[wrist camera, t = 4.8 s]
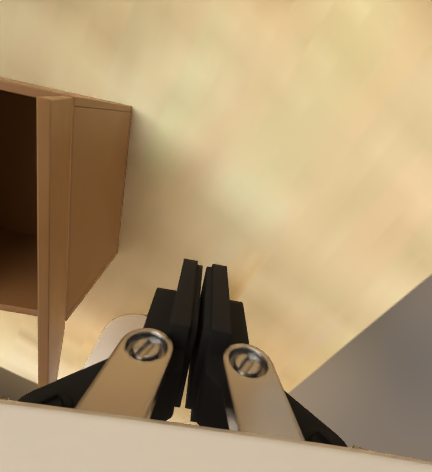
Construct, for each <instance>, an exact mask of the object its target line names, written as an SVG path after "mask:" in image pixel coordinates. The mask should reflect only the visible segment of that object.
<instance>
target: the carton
mask: <svg viewBox="0 0 432 472" xmlns="http://www.w3.org/2000/svg"><path fill="white" fill-rule="evenodd" d="M43 96H68V97H71V98H72V117H71V148H70V179H69V210H68V241H67V272H66V303H65V321H67V320H68V318H69V317H70V316H71V314H72V313H73V312H74V310H75V309H76V308H77V306H78V305H79V304H80V302H81V301H82V300H83V298H84V297H85V296H86V294H87V293H88V292H89V290H90V289H91V288H92V286H93V285H94V284H95V282H96V281H97V280H98V278H99V277H100V276H101V274H102V273H103V272H104V270H105V269H106V268H107V266H108V265H109V264H110V262H111V261H112V260H113V258H114V257H115V256H116V254H117V253H118V245H119V235H120V225H121V215H122V205H123V195H124V185H125V175H126V165H127V154H128V144H129V134H130V124H131V114H132V106H128V105H123V104H119V103H114V102H110V101H105V100H101V99H96V98H92V97H87V96H83V95H78V94H74V93H69V92H65V91H60V90H56V89H51V88H47V87H42V86H38V85H33V84H29V83H25V82H20V81H16V80H11V79H7V78H2V77H0V310H4V311H10V312H16V313H22V314H28V315H34V316H38V258H37V112H36V98H37V97H43Z"/></svg>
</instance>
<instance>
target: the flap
mask: <svg viewBox="0 0 432 472" xmlns="http://www.w3.org/2000/svg"><path fill="white" fill-rule="evenodd" d="M36 112H37V258H38V387H39V388H40V387H43V386H45V385H47V384H50V383H52V382H54V381H57V376H58V369H59V362H60V356H61V349H62V342H63V336H64V329H65V303H66V272H67V241H68V210H69V179H70V148H71V117H72V98H71V97H68V96H43V97H37V98H36Z"/></svg>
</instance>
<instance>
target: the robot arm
mask: <svg viewBox="0 0 432 472" xmlns="http://www.w3.org/2000/svg"><path fill="white" fill-rule="evenodd" d="M197 264H198V261H195V260H189V259H184V262H183V266H182V270H181V275H180V279H179V284H178V288H177V291H175V290H169V289H163V288H157V290H156V292H155V295H154V298H153V301H152V304H151V307H150V310H149V312H148V315H147V318H146V321H145V324H144V327H143V328H140V329H136V330H133V331H131V332H129V333H127V334H126V335H125V336H124V337H123V338H122V339H121V340H120V342H119V343H118V345H117V346H116V348H115V349H114V351H113V352H112V354H111V355H110V357H109V358H107V359H105V360H103V361H100V362H98V363H96V364H94V365H91V366H89V367H87V368H84V369H82V370H80V371H77V372H75V373H73V374H70V375H68V376H66V377H64V378H61V379H59V380H57V381H54V382H52V383H50V384H47V385H45V386H43V387H40V388H38V389H36V390H34V391H32V392H30V393H28V394H26V395H24V396H23V397H21V398H20V399H19V400H18V401H10V400H9V397H0V472H432V462H429V461H424V460H419V459H414V458H409V457H403V456H398V455H392V454H387V453H381V452H374V451H369V450H366V449H363V448H360V447H358V446H355V445H354V446H353V447H352V448H349V447H347V445H346V444H345V442H344V441H343V440H342V439H341V438H340V437H339V436H338V435H337V434H336V433H334V432H333V431H332V430H331V429H330V428H328V427H327V426H326V425H325V424H323V423H322V422H321V421H320V420H319V419H318V418H316V417H315V416H314V415H313V414H312V413H310V412H309V411H308V410H307V409H306V408H304V407H303V406H302V405H301V404H300V403H298V402H297V401H296V400H295V399H293V398H292V397H291V396H290V395H289V394H288V393H286V392H285V391H284V389H283V387H282V385H281V382H280V380H279V377H278V375H277V373H276V370H275V368H274V366H273V363H272V361H271V360H270V358H269V357H268V356H267V355H266V354H265V353H264V352H263V351H262V350H260V349H259V348H257V347H254V346H252V345H249V340H248V333H247V327H246V320H245V314H244V308H243V303H242V302H238V301H232V300H230V299H229V287H228V275H227V266H222V265H216V264H213V265H212V267H207V268H206V272H205V277H204V281H203V286H202V291H201V280H202V268H203V266H201V265H197ZM200 291H201V295H200ZM189 364H190V366H189ZM188 369H189V375H188V385H187V395H186V404H185V408H187V409H191V420H190V421H192V422H197V423H198V424H199V426H197V425H190V424H183V423H176V422H168V421H166V420H168V419H169V418H171V417H172V415H173V411H174V407H180V405H181V400H182V396H183V391H184V387H185V382H186V378H187V373H188Z"/></svg>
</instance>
